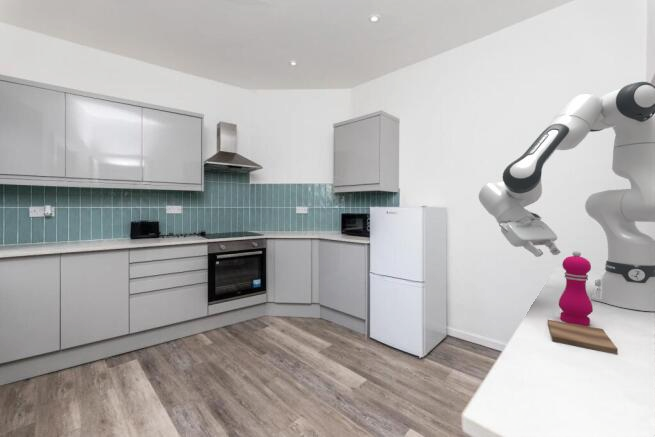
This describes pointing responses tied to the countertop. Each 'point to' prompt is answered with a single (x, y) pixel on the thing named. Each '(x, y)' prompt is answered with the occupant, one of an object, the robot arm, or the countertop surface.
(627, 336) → the countertop surface
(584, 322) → the pepper mill
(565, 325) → the walnut board
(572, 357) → the countertop surface
